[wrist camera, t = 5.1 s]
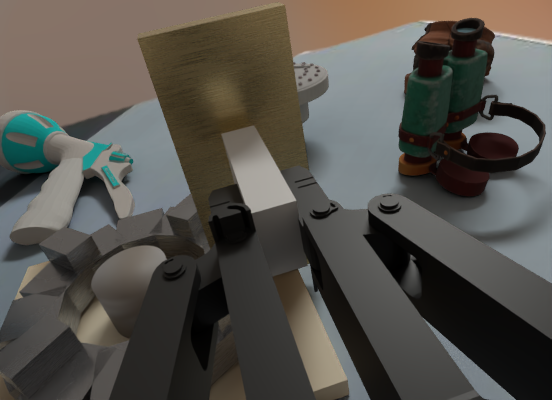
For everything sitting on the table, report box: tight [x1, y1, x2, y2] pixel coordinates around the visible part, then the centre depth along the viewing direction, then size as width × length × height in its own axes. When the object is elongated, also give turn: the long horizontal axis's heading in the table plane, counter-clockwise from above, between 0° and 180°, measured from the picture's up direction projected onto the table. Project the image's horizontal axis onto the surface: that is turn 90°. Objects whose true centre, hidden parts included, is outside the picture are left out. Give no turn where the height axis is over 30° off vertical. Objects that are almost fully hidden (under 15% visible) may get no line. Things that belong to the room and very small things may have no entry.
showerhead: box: [293, 62, 329, 124], centre depth 40 cm, size 9×7×10 cm
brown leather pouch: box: [404, 21, 495, 93], centre depth 44 cm, size 12×10×8 cm
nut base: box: [0, 246, 349, 400], centre depth 23 cm, size 18×16×4 cm
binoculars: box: [398, 18, 546, 196], centre depth 29 cm, size 9×11×10 cm
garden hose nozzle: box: [0, 110, 135, 245], centre depth 41 cm, size 7×18×20 cm
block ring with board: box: [0, 2, 310, 400], centre depth 19 cm, size 18×14×14 cm
